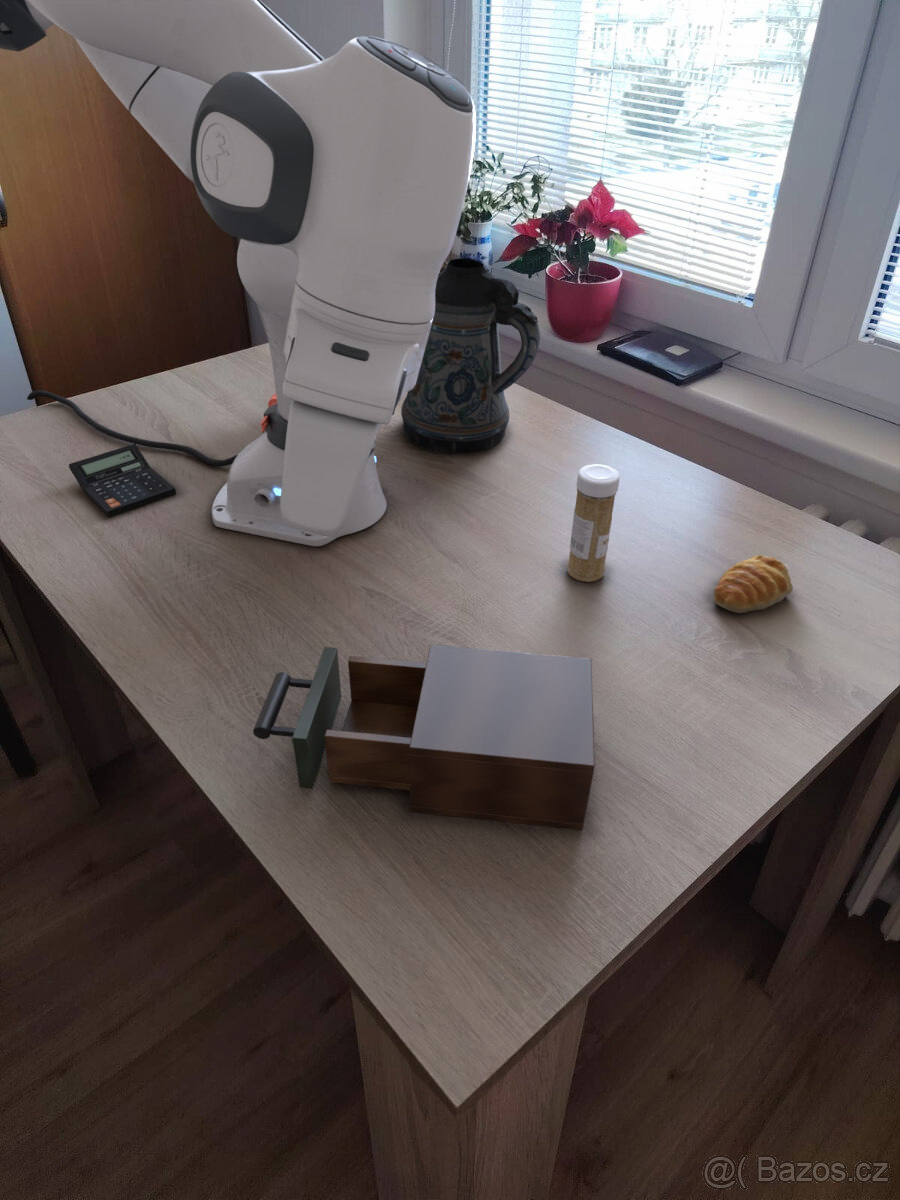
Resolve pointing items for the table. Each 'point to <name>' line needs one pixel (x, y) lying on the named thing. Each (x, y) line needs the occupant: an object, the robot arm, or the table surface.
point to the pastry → (753, 585)
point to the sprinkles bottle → (592, 521)
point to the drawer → (351, 721)
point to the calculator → (120, 480)
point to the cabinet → (503, 737)
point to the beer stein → (468, 362)
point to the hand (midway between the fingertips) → (315, 525)
